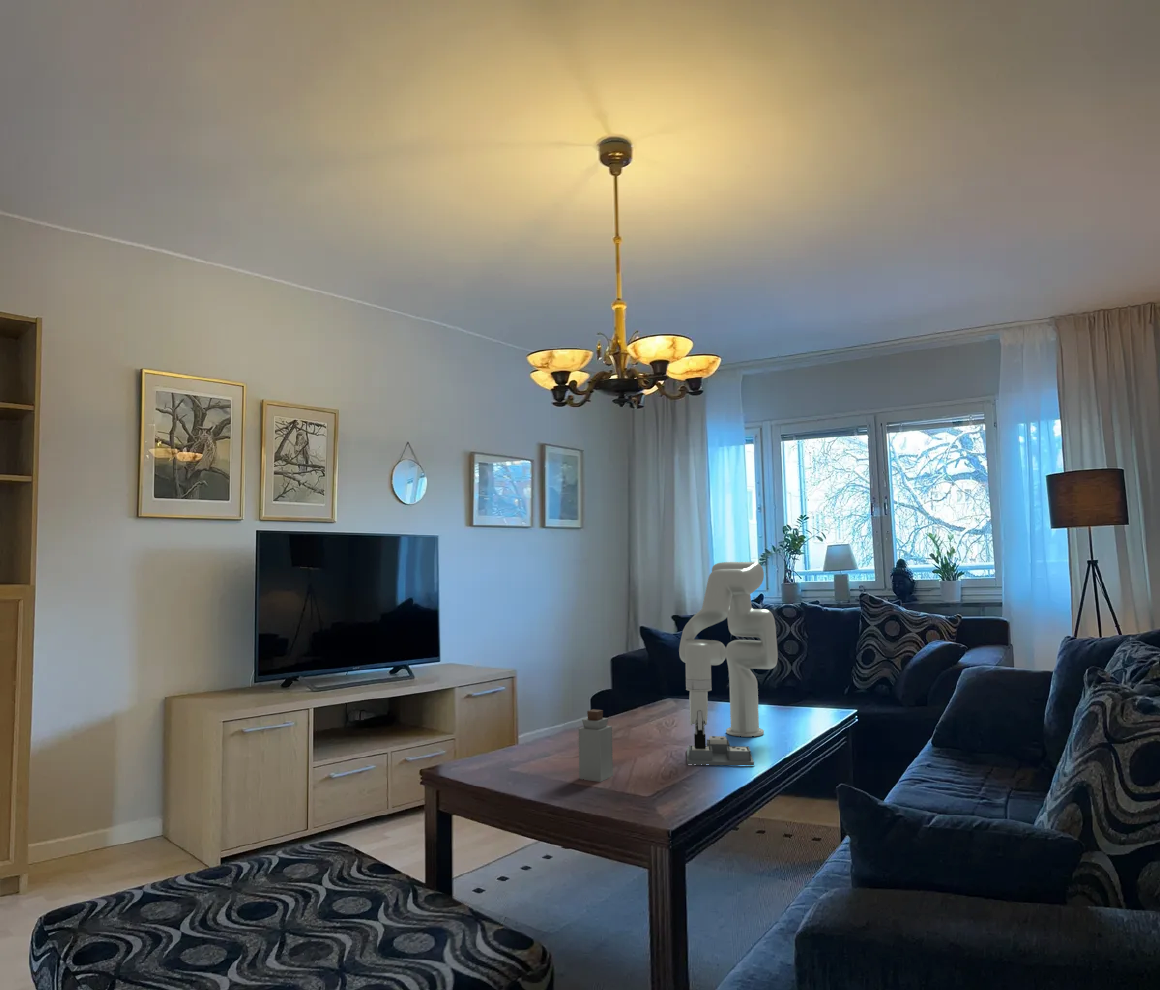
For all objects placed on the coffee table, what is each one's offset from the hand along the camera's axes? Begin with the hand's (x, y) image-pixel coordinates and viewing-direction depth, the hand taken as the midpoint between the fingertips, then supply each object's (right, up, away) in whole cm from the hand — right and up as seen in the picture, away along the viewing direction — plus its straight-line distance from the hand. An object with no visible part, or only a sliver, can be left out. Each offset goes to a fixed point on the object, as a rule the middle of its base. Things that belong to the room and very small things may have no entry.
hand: (700, 747), depth 233 cm
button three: (+11, -2, -1) cm, 11 cm away
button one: (0, -2, 0) cm, 2 cm away
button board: (+6, -4, +3) cm, 8 cm away
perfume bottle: (-31, -3, -16) cm, 35 cm away
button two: (+7, -2, +8) cm, 10 cm away
